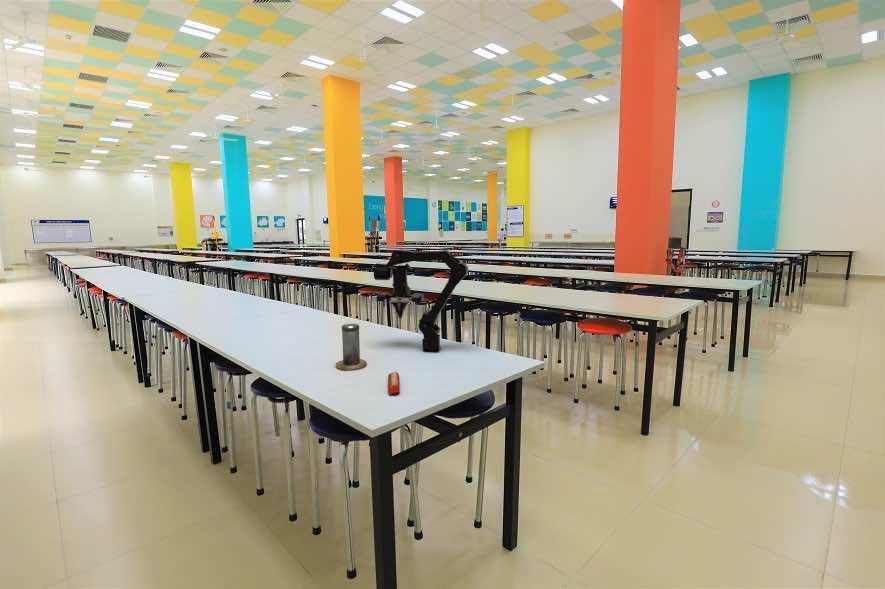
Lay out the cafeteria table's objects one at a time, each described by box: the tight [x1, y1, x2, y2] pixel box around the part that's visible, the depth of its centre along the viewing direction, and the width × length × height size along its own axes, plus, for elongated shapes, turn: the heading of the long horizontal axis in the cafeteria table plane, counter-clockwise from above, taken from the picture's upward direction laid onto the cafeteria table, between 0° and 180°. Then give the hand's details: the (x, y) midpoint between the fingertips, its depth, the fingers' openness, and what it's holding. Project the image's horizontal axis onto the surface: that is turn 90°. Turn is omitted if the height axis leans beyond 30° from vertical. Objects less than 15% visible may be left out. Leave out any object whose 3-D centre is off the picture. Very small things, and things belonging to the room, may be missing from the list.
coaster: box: [335, 358, 368, 372], centre depth 155 cm, size 11×11×1 cm
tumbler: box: [341, 323, 361, 366], centre depth 154 cm, size 6×6×14 cm
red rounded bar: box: [387, 371, 401, 396], centre depth 134 cm, size 16×4×3 cm, turn 7°
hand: (400, 318), depth 176 cm, fingers closed
